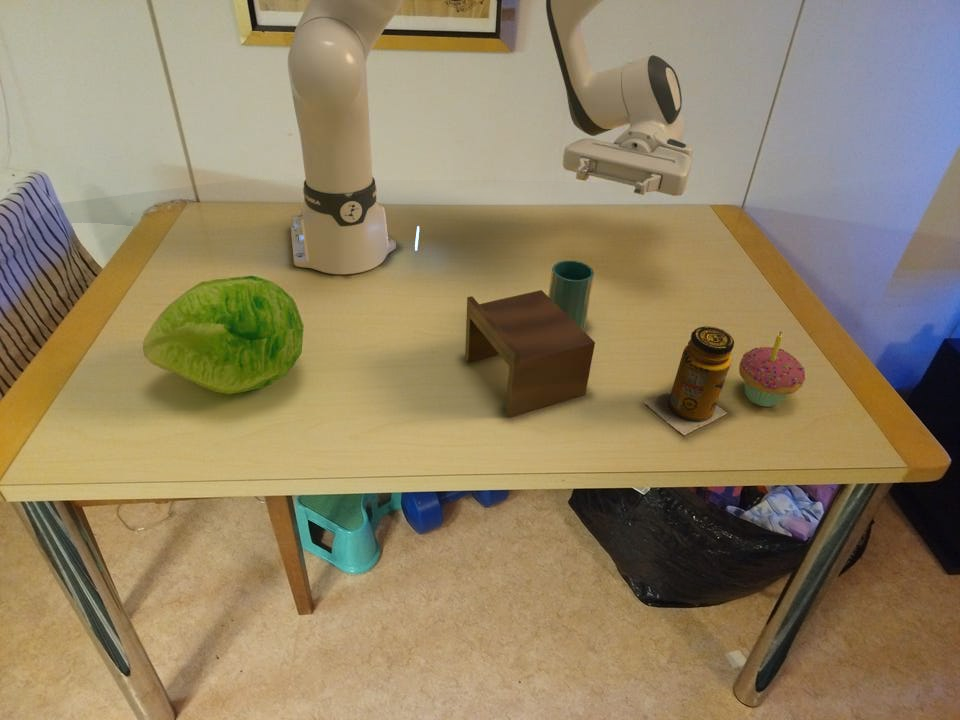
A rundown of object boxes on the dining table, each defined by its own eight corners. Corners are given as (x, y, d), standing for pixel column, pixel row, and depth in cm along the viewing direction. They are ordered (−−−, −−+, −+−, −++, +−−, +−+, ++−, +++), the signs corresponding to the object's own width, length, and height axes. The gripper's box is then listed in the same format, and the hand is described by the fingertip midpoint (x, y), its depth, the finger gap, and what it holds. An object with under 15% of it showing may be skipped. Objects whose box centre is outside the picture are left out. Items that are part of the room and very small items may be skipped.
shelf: (464, 358, 97) (467, 297, 90) (535, 339, 101) (542, 280, 95) (509, 417, 87) (515, 353, 80) (585, 394, 91) (597, 332, 85)
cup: (538, 319, 106) (544, 264, 99) (571, 311, 108) (579, 257, 102) (558, 340, 101) (566, 284, 95) (592, 331, 103) (602, 276, 97)
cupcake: (773, 424, 88) (804, 353, 81) (718, 392, 93) (742, 322, 86) (804, 398, 93) (836, 328, 85) (750, 369, 97) (776, 300, 90)
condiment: (727, 414, 89) (753, 342, 82) (683, 436, 85) (707, 363, 78) (686, 384, 94) (707, 314, 87) (644, 404, 90) (662, 333, 83)
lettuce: (184, 361, 97) (150, 266, 89) (321, 345, 98) (300, 250, 90) (148, 429, 83) (103, 324, 75) (309, 410, 84) (282, 304, 76)
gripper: (583, 123, 112) (549, 147, 102) (703, 148, 104) (679, 177, 94) (578, 160, 115) (545, 186, 106) (693, 186, 108) (669, 217, 98)
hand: (609, 182), depth 100 cm, fingers open, 8 cm apart
